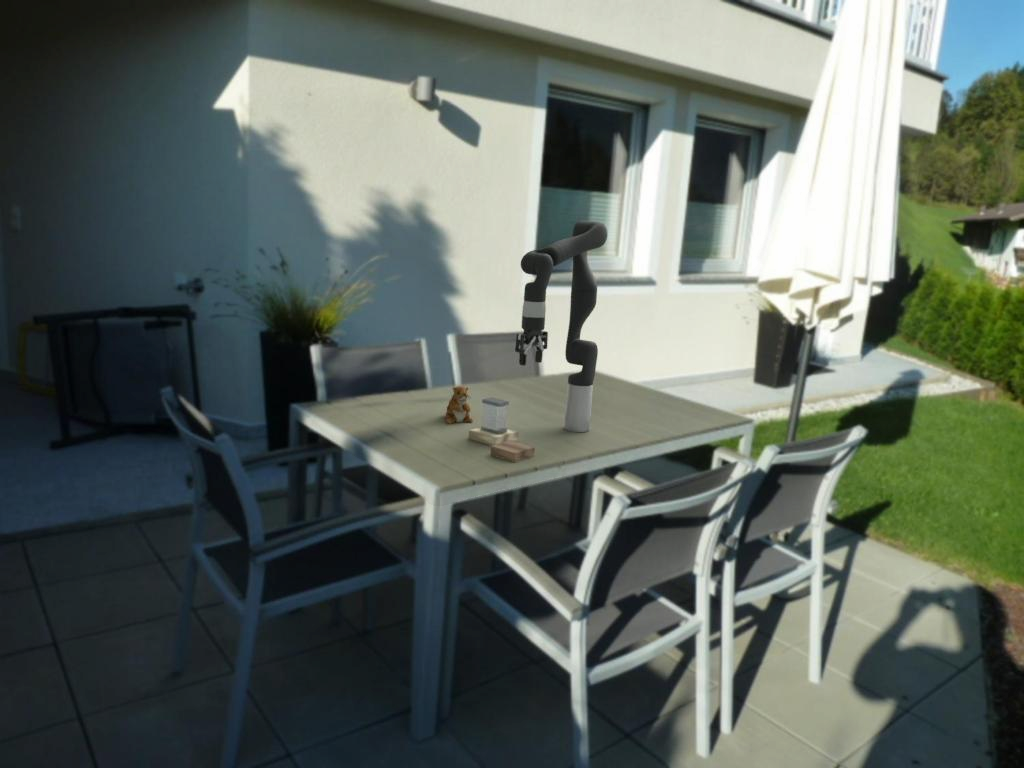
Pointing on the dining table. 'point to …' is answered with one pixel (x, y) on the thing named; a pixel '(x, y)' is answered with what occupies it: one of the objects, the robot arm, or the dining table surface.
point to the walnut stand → (512, 451)
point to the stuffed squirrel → (458, 406)
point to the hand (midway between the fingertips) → (530, 363)
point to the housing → (494, 415)
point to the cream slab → (492, 436)
